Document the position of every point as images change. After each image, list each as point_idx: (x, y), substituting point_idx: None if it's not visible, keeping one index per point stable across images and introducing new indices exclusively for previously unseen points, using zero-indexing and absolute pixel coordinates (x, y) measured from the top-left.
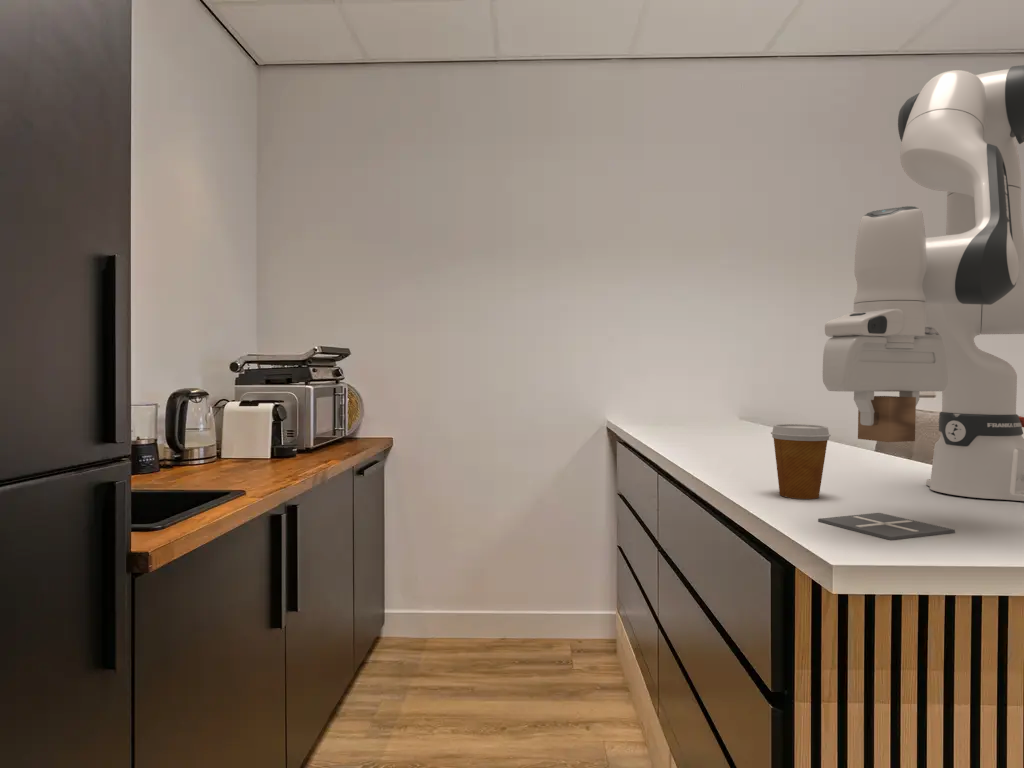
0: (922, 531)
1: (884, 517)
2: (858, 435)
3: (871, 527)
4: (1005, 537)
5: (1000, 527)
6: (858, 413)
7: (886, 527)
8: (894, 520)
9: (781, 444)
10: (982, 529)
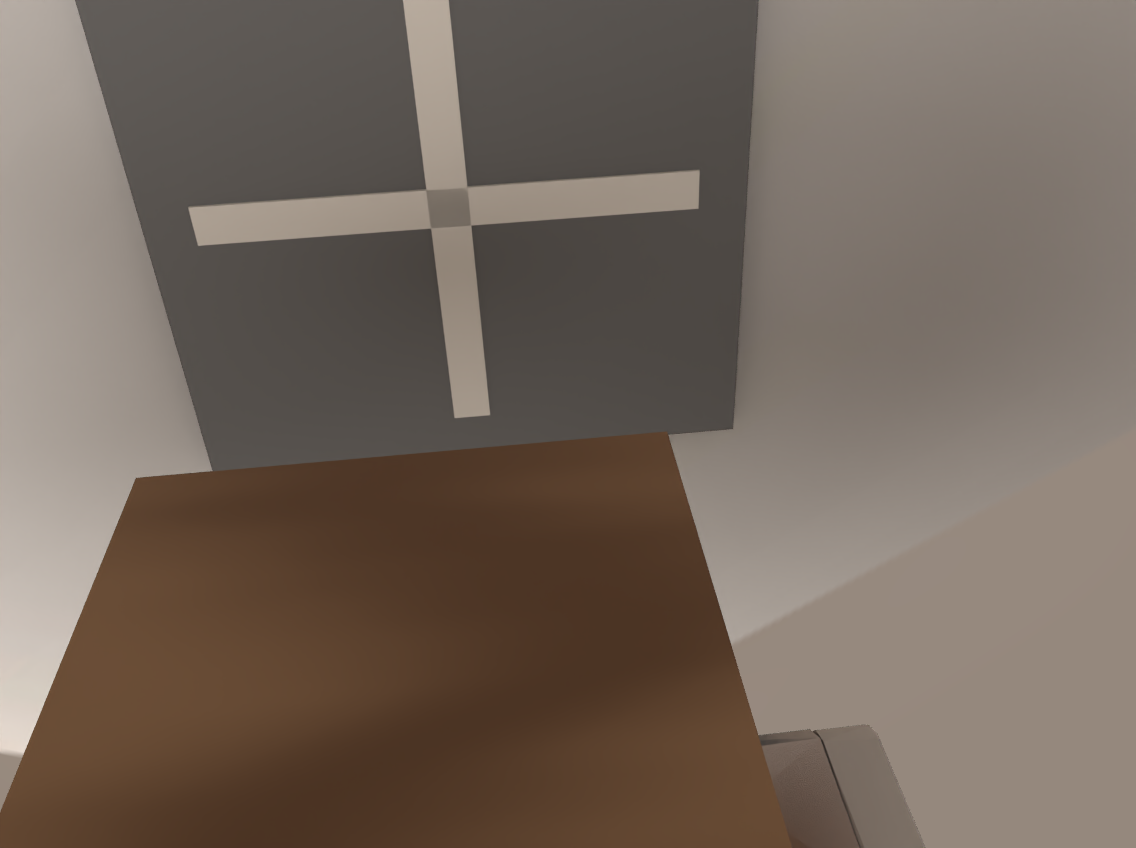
0: (507, 420)
1: (636, 29)
2: (129, 516)
3: (275, 266)
4: (864, 539)
5: (1107, 386)
6: (7, 806)
7: (374, 294)
8: (615, 137)
9: None
10: (959, 396)
